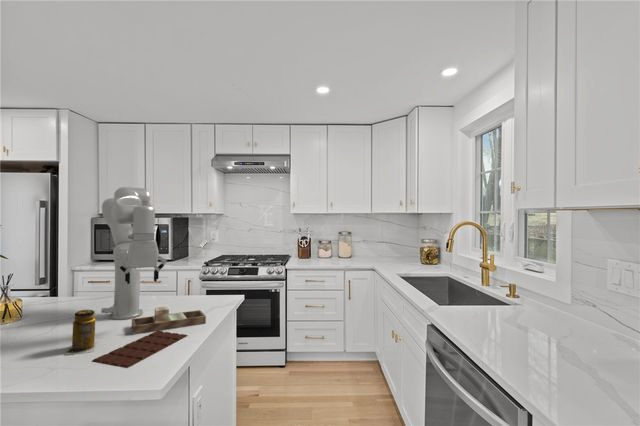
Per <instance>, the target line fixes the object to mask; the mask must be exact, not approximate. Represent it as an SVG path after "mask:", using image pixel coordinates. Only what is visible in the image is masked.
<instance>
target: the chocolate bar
mask: <svg viewBox="0 0 640 426" xmlns="http://www.w3.org/2000/svg"><path fill="white" fill-rule="evenodd" d="M187 337H188V335H187V334H186V333H185V334H184V333H177V332H170V331H165V332H164V330H160V331H154V332H150V333H149V334H147V335H145V336H143V337H141V338H138V339H136V340H134V341H131V342H130V343H127V344H125V345H123V346H122V347H118V348H116V349H113V350H112V351H110V352H108V353H105V354H103V355H101V356H98V357H95V358H94V359H93V360H91V363H97V364H101V365H106V366H107V365H108V366H112V367H120V368H124V369H129V368H130V367H133V366H134V365H136V364H138V363H140V362H141V361H143V360H146V359H147V358H149V357H151V356H153V355H155V354H157V353H159V352H161V351H163V350H165V349H167V347H168V348H169V346H172V345H173V344H174V345H175V343H177V342H179V341H180V340H183V339H185V338H187Z"/></svg>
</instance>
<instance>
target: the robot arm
mask: <svg viewBox="0 0 640 426" xmlns="http://www.w3.org/2000/svg"><path fill="white" fill-rule="evenodd" d="M150 202H151V194H150V192H149V191H148V189H146V188H142V187H129V186H128V187H127V186H126V187H124V186H123V187H119V188H117V189H116V190H115V192H114V193H113V197H111V198H107V199H105V200H104V201H102V204H101V213H102V218H103V219H104V221H105V223H106V224H107V226H108V227H109V229H110V232H111V236H112V240H113V243H114V245H115V247H114V248H113V250H112V251H113V252H112V253H113V254H112V255H113V263H114V295H113V298H114V300H113V304H112V306H110V307H102V308H101V311H100V313H101V314H109V316H108V317H109V319H113V320H128V319H135V318H139V317H140V316H142V315H143V313H144V311H143V309H141V308H140V293H141V292H140V285H141V273H140V271H139V270H138V269H141V268H153V269H154V271H153V281H154V283H157V280H159V272H160V271H161V270H162V268H164V266H165V265H166V263H167V261H168V260H167V259H166V258H164V257H162V256H159V255H160V253H159V248H158V243H157V241H156V239H155V227H156V224H155V223H156V222H155V221H156V209H155V207H154V206H151V205H149V204H150ZM159 261H161V262H160V264H159V265H158V262H159Z"/></svg>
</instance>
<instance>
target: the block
mask: <svg viewBox="0 0 640 426" xmlns="http://www.w3.org/2000/svg"><path fill="white" fill-rule="evenodd" d="M169 314H170V309H169V307H168V306H160V307H154V316H155V320H156V321H161V320H168V319H169Z"/></svg>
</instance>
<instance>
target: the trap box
mask: <svg viewBox="0 0 640 426" xmlns="http://www.w3.org/2000/svg"><path fill="white" fill-rule="evenodd" d="M206 320H207V316H206V315H205V313H203V311H202V310H200V309H199V310H198V309H197V310H191V311H190V310H189V311H183V312H175V313H169V319H168V320H161V321H156V320H155V315H151V316H144V317H134V318H131V330H132V334H133V335H140V334H146V333H154V332H156V331H166V330H171V329H178V328H184V327H192V326H198V325H204V324H207V321H206Z"/></svg>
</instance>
